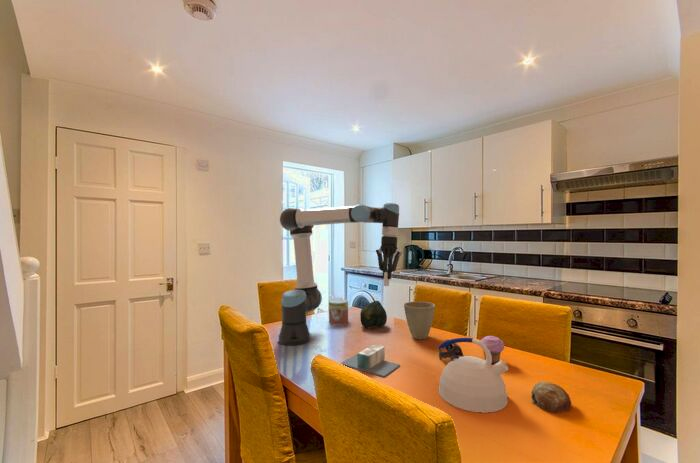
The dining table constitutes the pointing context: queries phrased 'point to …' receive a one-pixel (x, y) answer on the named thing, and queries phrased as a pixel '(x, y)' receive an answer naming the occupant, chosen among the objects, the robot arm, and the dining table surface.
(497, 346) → the cupcake
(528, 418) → the dining table surface
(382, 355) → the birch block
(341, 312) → the canned food
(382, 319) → the squash
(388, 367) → the mat
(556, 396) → the brown rounded lump
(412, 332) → the plant pot
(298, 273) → the robot arm
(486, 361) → the kettle
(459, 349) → the vr controller
